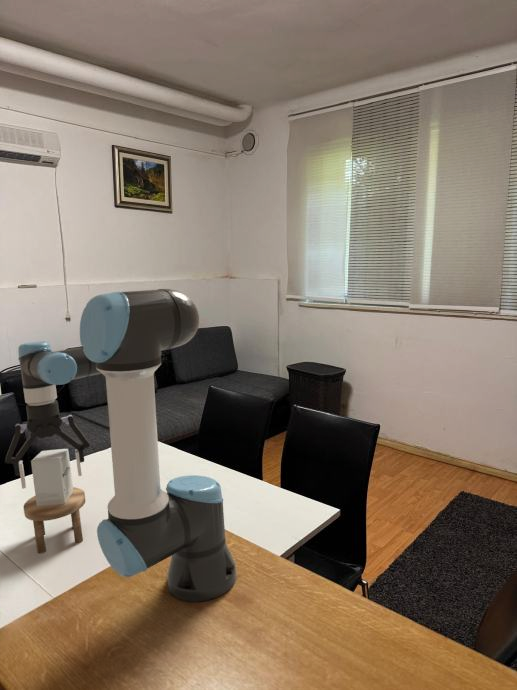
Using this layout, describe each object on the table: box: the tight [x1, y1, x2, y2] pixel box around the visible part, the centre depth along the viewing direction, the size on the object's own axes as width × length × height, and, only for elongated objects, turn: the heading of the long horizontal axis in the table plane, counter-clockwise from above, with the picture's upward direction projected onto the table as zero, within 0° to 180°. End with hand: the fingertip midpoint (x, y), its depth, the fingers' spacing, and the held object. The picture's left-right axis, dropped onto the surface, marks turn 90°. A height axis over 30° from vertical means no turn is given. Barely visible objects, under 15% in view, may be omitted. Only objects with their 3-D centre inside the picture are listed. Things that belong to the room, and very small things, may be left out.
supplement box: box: [30, 448, 74, 506], centre depth 126 cm, size 7×7×13 cm
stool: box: [23, 486, 86, 555], centre depth 127 cm, size 15×15×11 cm
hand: (52, 480), depth 126 cm, fingers open, 13 cm apart
